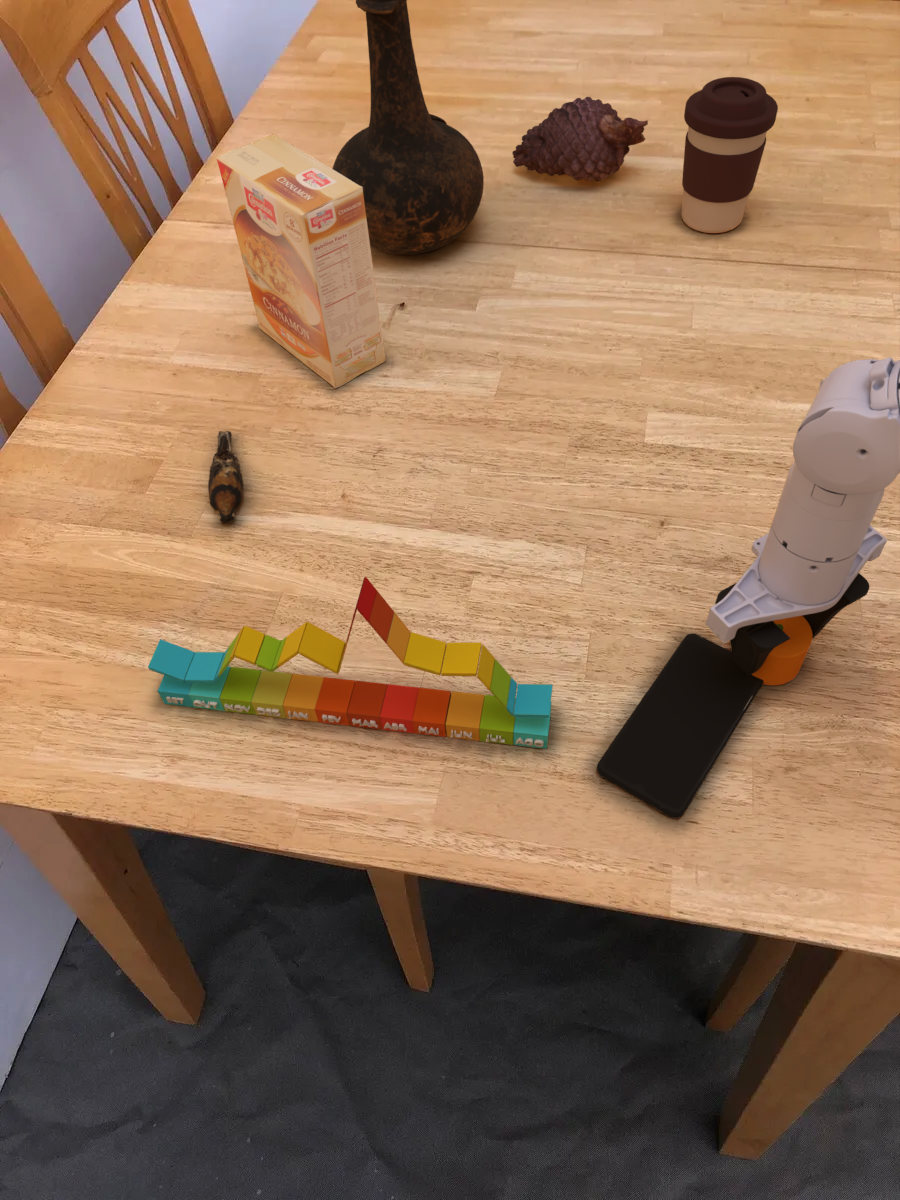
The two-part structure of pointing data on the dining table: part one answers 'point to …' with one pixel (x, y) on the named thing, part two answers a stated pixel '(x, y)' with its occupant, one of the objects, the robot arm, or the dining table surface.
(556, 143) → the pine cone
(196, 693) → the chart
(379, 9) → the dark brown vase
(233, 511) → the bird model
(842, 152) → the dining table surface
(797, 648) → the mandarin
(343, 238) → the coffeecake box
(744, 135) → the coffee cup
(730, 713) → the smartphone
